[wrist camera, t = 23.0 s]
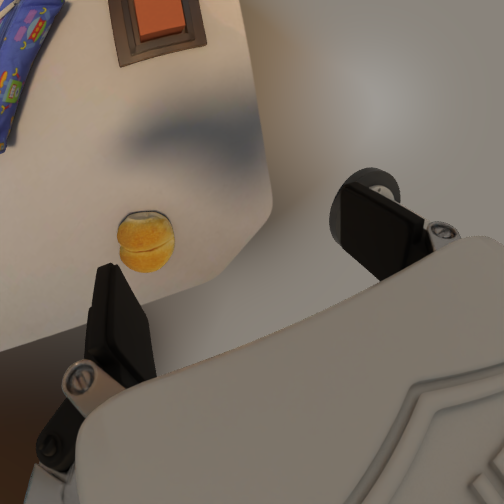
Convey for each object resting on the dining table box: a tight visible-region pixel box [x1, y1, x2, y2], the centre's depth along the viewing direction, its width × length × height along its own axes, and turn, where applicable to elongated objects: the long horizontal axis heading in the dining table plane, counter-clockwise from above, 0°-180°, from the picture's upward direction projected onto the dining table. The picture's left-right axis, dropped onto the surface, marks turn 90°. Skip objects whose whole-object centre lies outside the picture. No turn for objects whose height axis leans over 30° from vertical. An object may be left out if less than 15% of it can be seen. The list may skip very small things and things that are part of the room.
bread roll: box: [117, 212, 175, 273], centre depth 37 cm, size 8×9×4 cm
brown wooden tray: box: [108, 0, 207, 67], centre depth 20 cm, size 11×15×5 cm
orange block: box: [134, 0, 185, 43], centre depth 21 cm, size 5×6×4 cm
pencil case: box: [0, 0, 65, 154], centre depth 15 cm, size 22×9×10 cm, turn 154°
